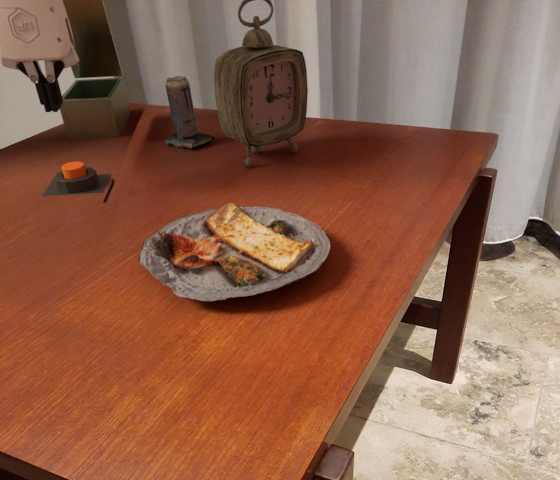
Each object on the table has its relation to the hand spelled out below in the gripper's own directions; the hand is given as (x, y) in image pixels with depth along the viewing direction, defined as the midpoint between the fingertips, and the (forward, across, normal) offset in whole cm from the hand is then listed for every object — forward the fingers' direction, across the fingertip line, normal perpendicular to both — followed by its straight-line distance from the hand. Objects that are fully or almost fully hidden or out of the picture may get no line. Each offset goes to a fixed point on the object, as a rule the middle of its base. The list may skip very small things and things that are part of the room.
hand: (53, 109), depth 84 cm
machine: (+14, -1, +31) cm, 34 cm away
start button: (+10, +1, 0) cm, 10 cm away
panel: (+13, +1, 0) cm, 13 cm away
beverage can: (+13, +18, +22) cm, 31 cm away
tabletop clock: (+13, +32, +13) cm, 37 cm away
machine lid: (-3, -2, +36) cm, 36 cm away
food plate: (+13, +27, -25) cm, 39 cm away
